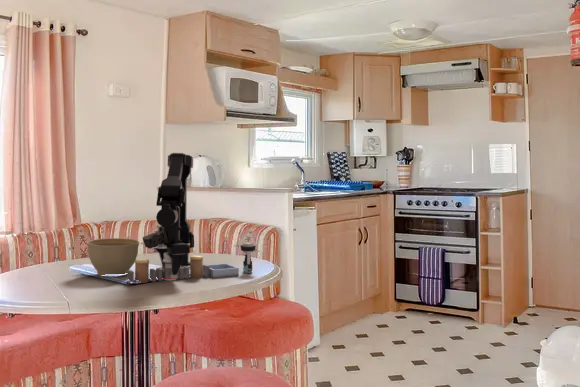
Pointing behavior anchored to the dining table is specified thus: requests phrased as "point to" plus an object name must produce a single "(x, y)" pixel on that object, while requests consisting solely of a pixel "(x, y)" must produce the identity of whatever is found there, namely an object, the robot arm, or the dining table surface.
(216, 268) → the tray
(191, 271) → the tan cylinder
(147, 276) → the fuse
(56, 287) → the dining table surface
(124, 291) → the dining table surface
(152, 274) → the clip row
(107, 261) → the planter bowl
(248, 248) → the push button
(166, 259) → the pill bottle
